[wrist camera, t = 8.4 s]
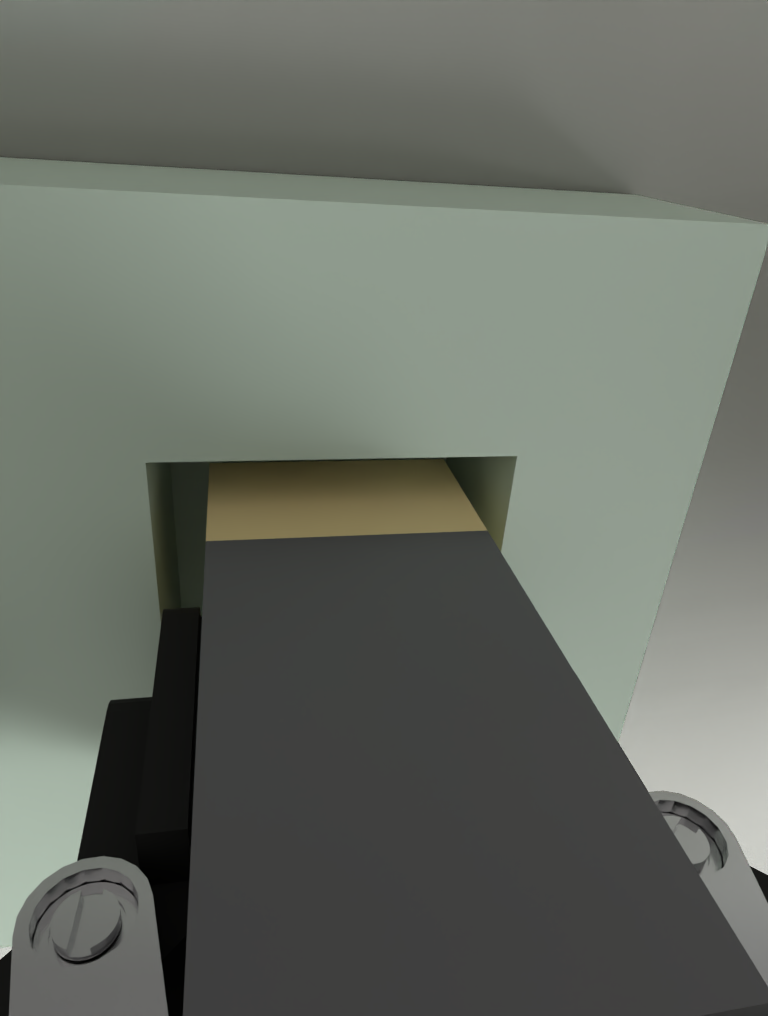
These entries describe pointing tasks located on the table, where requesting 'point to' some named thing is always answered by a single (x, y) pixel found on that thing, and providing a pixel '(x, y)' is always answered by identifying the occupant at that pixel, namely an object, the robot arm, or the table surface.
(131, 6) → the table surface
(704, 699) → the table surface
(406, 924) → the plug
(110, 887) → the robot arm
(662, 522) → the socket
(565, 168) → the table surface
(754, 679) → the table surface
